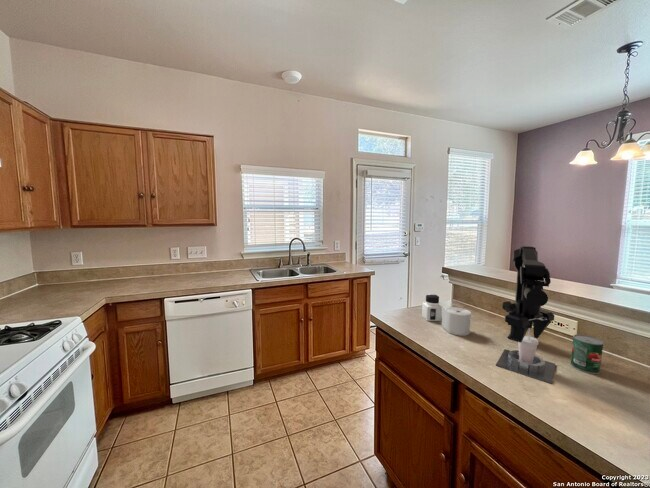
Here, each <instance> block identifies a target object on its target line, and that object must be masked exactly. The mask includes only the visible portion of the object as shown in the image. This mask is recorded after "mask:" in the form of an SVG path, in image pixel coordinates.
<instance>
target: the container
mask: <svg viewBox="0 0 650 488" xmlns="http://www.w3.org/2000/svg"><path fill="white" fill-rule="evenodd" d="M442 307H443V306H441V305H440V296H438V295H437V294H432V293H429V294H426V295H425V302H424V301H423V302H422V308H421V310H422V311H421V316H422V317H423V318H424V319H425V320H426V321H427V322H442Z"/></svg>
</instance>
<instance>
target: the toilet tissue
mask: <svg viewBox="0 0 650 488" xmlns="http://www.w3.org/2000/svg"><path fill="white" fill-rule="evenodd" d="M441 307H442V318H441V327H442V328H443V329H444V330H445V331H446V332H448V333H449V334H452V335H455V336H460V337H461V336H469V335H470V334H471V320H472V319H471V317H472V312H471V311H470V310H468V309H465V308H461V307H448V308H446V309H445V308H444V307H443V306H441Z"/></svg>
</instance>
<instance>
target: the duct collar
mask: <svg viewBox="0 0 650 488" xmlns="http://www.w3.org/2000/svg"><path fill="white" fill-rule="evenodd" d="M495 366H496V367H500V368H501V369H505V370H508V371H511V372H514V373H518V374H520V375H524V376H526V377H530V378H531V379H535V380H538V381H541V382H545V383H548V384H551V385H552V384H553V379H554V373H555V368H556V363H554V362H551V361H549V360H545V359H544V358H543V357H541V356H539V355H537V354H535V356H534V359H533V363H526V362H523V361H520V360H519V349H518V350H516V349H514V350H509V349H506V348H505V349H503V351H502V353H501V354H500V356H499V358H498V360H497V362H496V363H495Z"/></svg>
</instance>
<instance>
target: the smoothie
mask: <svg viewBox="0 0 650 488" xmlns="http://www.w3.org/2000/svg"><path fill="white" fill-rule="evenodd" d="M527 332H528V333H527V335H526V336H524V339H523V340H522V342H521V343H520V342H518V341H517V342H518V343H517V344H518V350H519V360H520V361H523V362H526V363H533V359H534V356H535V355H536V351H537V347H538V345H540V344H539V340H538V338H534V336H533V337H532V336H531V329H530V328H528V330H527Z"/></svg>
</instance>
